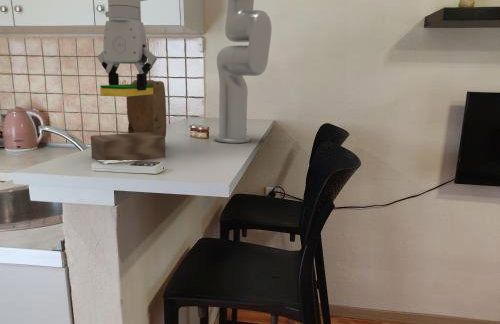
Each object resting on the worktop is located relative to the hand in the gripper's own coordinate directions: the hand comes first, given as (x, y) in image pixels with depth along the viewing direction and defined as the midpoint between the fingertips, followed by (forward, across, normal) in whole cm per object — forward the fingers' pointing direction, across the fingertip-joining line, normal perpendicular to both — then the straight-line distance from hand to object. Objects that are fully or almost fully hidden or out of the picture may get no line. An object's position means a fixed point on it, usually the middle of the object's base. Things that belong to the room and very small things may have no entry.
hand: (127, 89), depth 97 cm
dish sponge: (+2, 0, 0) cm, 2 cm away
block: (+18, -4, +15) cm, 24 cm away
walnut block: (+18, 0, 0) cm, 18 cm away
